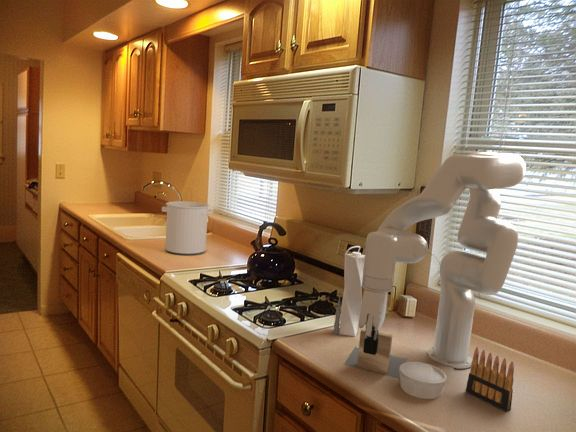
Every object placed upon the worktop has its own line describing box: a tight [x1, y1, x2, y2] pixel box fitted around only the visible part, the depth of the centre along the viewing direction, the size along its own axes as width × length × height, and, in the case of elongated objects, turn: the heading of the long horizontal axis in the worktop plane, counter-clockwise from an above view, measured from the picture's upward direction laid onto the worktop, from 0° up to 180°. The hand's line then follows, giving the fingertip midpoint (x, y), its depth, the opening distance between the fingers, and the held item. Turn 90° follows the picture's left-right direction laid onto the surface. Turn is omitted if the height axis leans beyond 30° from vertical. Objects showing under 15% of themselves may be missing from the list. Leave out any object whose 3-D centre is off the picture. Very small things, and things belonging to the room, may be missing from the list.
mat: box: [343, 346, 408, 379], centre depth 131 cm, size 13×15×1 cm
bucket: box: [161, 200, 214, 256], centre depth 243 cm, size 26×22×24 cm
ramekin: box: [399, 361, 448, 400], centre depth 117 cm, size 11×11×5 cm
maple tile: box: [357, 327, 393, 374], centre depth 126 cm, size 2×8×10 cm, turn 68°
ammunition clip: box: [465, 346, 515, 413], centre depth 114 cm, size 11×2×12 cm, turn 39°
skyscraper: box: [333, 245, 365, 338], centre depth 148 cm, size 8×8×28 cm
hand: (370, 352), depth 119 cm, fingers closed
